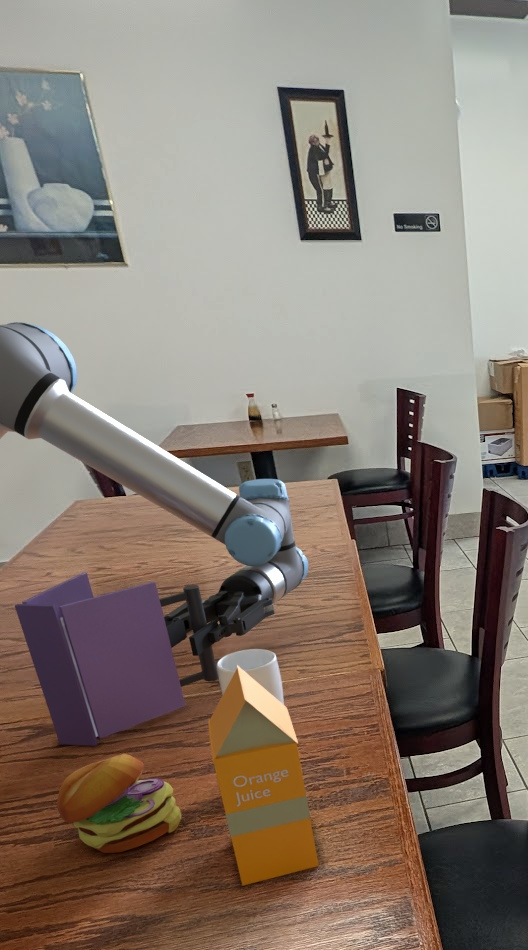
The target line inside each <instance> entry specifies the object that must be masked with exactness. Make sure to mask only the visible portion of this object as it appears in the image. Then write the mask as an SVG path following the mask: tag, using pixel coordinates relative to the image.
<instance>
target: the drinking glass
mask: <svg viewBox="0 0 528 950" xmlns="http://www.w3.org/2000/svg"><path fill="white" fill-rule="evenodd" d="M237 665H238V666H239V667H240V668H241V669H243V670H244V671H245V672H246V673H247V674H248V675H250V676H251V677H252V678H253V679H254V680H255V681H256V682H258V683H259V684H260V685H261V686H262V687H263V688H265V689H266V690H267V691H268V692H269V693H270V694H272V695H273V696H274V697H275V698H276V699H277V700H279V701H280V702H281V703H282V704H283V705H284V706H285V698H284V689H283V681H282V675H281V671H280V666H279V662H278V659H277V655H276V653H275V652H273V651H271V650H268V649H263V648H251V649H249V648H248V649H243V650H238V651H234V652H231V653H228V654H226V655H224V656H223V657H221V658H220V659H218V660H217V662H216V667H217V672H218V677H219V678H218V682H219V688H220V691H221V695H222V696H223V694H224V692H225V690H226V688H227V686H228V684H229V683H230V681H231V679H232V677H233V675H234V673H235V671H236V669H237ZM222 696H221V697H222Z"/></svg>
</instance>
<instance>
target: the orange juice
mask: <svg viewBox="0 0 528 950" xmlns="http://www.w3.org/2000/svg"><path fill="white" fill-rule="evenodd" d="M207 722H208V723H207V728H208V736H209V743H210V750H211V751H210V753H211V760H212V763H213V765H214V772H215V779H216V782H217V783H218V787H219V792H220V796H221V800H222V804H223V809H224V814H225V819H226V823H227V828H228V832H229V836H230V838H231V843H232V847H233V851H234V856H235V860H236V864H237V869H238V873H239V877H240V881H241V886H242V887H243V886H248V885H250V884H254V883H259V882H262V881H266V880H270V879H273V878H278V877H281V876H285V875H289V874H293V873H296V872H297V873H298V872H300V871H304V870H305V871H306V870H309V869H312V868H316V867H319V865H320V864H319V859H318V853H317V849H316V842H315V837H314V831H313V828H312V827H313V826H312V821H311V813H310V809H309V808H310V807H309V802H308V796H307V791H306V787H305V781H304V775H303V773H304V772H303V768H302V764H301V756H300V752H299V751H300V750H299V748H298V744H299V741H298V738H297V734H296V732H295V727H294V726H293V722H292V719H291V716H290V713H289V710H288V707H287V706H286V705H285V704H284V705H283V704H282V703H281V702H280V701H279V700H277V699H276V698H275V697H274V696H273V695H272V694H270V693H269V692H268V691H267V690H266V689H265V688H263V687H262V686H261V685H260V684H259V683H258V682H256V681H255V680H254V679H253V678H252V677H251V676H250V675H248V674H247V673H246V672H245V671H244V670H243V669H241V668H240V667H239V666H238V665H237V669H236V671H235V673H234V675H233V677H232V679H231V681H230V683H229V684H228V686H227V688H226V690H225V692H224V694H223V696H221V698H220V700H219V702H218V704H217V705H216V707H215V709H214V711H213V713H212V715H211V717H210V719H209V720H207Z"/></svg>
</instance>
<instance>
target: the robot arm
mask: <svg viewBox="0 0 528 950" xmlns="http://www.w3.org/2000/svg"><path fill="white" fill-rule="evenodd" d="M77 381H78V371H77V365H76V362H75V359H74V357H73V354H72V352H71V351H70V349H69V348H68V346H67V345H66V344H65V343H64V342H63V341H62V339H60V338H59V337H58V336H57V335H55V334H54V332H53V333H52V332H51V331H50V330H47V329H46V328H44V327H42V326H38V325H35V324H31V323H27V322H23V321H22V322H21V321H19V322H18V321H16V322H15V321H14V322H10V323H6V324H0V440H1V439H2V438H3V437H4V436H5V435H6V434H7V433H8V432H13V433H17V434H19V435H20V436H22V437H23V438H26V440H35V439H42V440H44V442H46V443H49V444H50V445H53V446H54V447H56V448H58V449H59V450H60V451H63V452H64V453H66V454H68V455H70V456H71V457H73V458H74V459H76V460H78V461H80V462H82V463H83V464H85V465H86V466H89V467H90V468H92V469H94V470H95V471H97V472H99V473H100V474H102V475H103V476H106V477H107V478H109V479H111V480H113V481H115V482H116V483H118V484H119V485H121V486H123V487H124V488H126V489H128V490H130V491H132V492H133V493H135V494H137V495H138V496H140V497H142V498H144V499H145V500H147V501H148V502H151V503H152V504H154V505H156V506H158V507H160V508H161V509H163V510H165V512H169V513H170V514H171V515H173V516H175V517H177V518H178V519H180V520H182V521H183V522H185V523H187V524H188V525H191V526H192V527H194V528H195V529H197V530H199V531H201V532H203V534H205V535H207V536H209V537H211V538H213V539H214V540H216V541H218V542H219V543H221V544H223V545H224V546H225V548H226V550H227V552H228V553H229V555H230V556H231V557H232V558H233V560H235V561H236V562H238V563H239V564H241V565H243V567H241V568H240V569H238V570H237V571H235V572H234V573H233V574H231V575H230V576H228V577H227V578H225V579H224V580H223V581H222V583H221V584H220V587H219V590H218V591H217V593H215V594H211V595H210V596H209V597H208V598H207V599H202V604H203V608H204V613H205V617H206V622H207V625H205V626H204V627H203V628H201V629H200V630H198V631H197V632H196V633H193V634H191V635H190V636H189V637H188V635H187V634H188V633H190V632H193V629H192V625H191V620H190V616H189V612H188V607H187V603H186V601H185V602H184V603H182V604H180V605H179V606H177V607H176V608H175V609H173V610H172V611H170V612H169V613H166V615H164V619H165V624H166V628H167V632H168V636H169V640H170V644H171V648H172V649H173V648H175V646H177V645H178V644H179V643H181V642H182V641H185V640H186V639H187V638H188V639H189V645H190V648H191V651H192V652H191V653H192V657H193V656H194V657H199V655H200V654H201V653H202V652H204V651H205V650H206V649H208V648H209V647H210V646H211V645H212V646H213V645H214V644H216V643H218V642H220V641H221V640H222V639H224V638H229V637H231V636H232V634H235V635H236V636H237V637H242V636H244V635H246V634H247V633H249V632H250V631H252V629H253V628H254V627H256V626H257V625H259V624H260V623H261V622H262V621H263V620H265V619H266V618H268V617H271V616H274V615H275V613H276V612H275V608H274V605H275V604H276V603H277V602H278V601H280V600H281V599H282V598H284V597H285V596H287V595H288V594H289V593H291V592H292V591H294V590H295V589H297V588H298V587H299V586H300V585H301V583H302V582H303V581H304V580H305V579H306V577H307V575H308V572H309V562H308V561H309V560H308V559H307V557H306V556H305V554H304V552H303V551H302V549H300V548H298V547H297V545H296V540H295V536H294V530H293V522H292V515H291V508H290V499H289V497H288V491H287V487H286V484H285V482H283V481H282V480H280V479H276V478H257V479H251V480H247V481H244V482H242V483H241V484H240V485H239V486H238V493H239V494H237V493H236V492H234V491H232V490H230V489H229V488H228V487H225V485H223V484H220V483H219V482H217V481H216V480H214V479H212V478H211V477H209V476H207V475H206V474H204V473H202V472H201V471H199V470H198V469H196V468H195V467H193V466H191V465H190V464H188V463H186V462H185V461H183V460H182V459H180V458H179V457H176V456H175V455H173V454H172V453H170V452H169V451H166V450H165V449H164V448H161V447H160V446H159V445H157V444H155V443H154V442H152V441H151V440H149V439H147V438H145V437H144V436H142V435H140V434H139V433H137V432H136V431H134V430H133V429H131V428H129V427H128V426H126V425H125V424H122V423H121V422H119V421H117V420H116V419H114V418H113V417H111V416H109V415H107V414H106V413H104V412H103V411H101V410H100V409H98V408H96V406H95V407H94V406H93V405H91V404H90V403H88V402H86V401H85V400H84V399H82V398H80V397H79V396H77V395H75V394H74V393H73V391H74V390H75V388H76V385H77ZM244 565H245V566H244Z"/></svg>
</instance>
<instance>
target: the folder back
mask: <svg viewBox="0 0 528 950" xmlns="http://www.w3.org/2000/svg"><path fill="white" fill-rule="evenodd" d="M93 597H94V593H93V589H92V586H91V582H90V579H89V576H88V573H87V572H84V571H83V572H81V573H79V574H76V575H75V576H73V577H70V578H69V579H66V580H64V581H62V582H60V583H58V584H56V585H54V586H52V587H50V588H48V589H46V590H43V591H41V592H40V593H37V594H35V595H33V596H31V597H29V598H27V599H25V600H22V603H17V604H15V605H14V608H15V611H16V615H17V618H18V621H19V624H20V626H21V631H22V633H23V636H24V640H25V642H26V646H27V648H28V651H29V654H30V657H31V660H32V664H33V666H34V670H35V672H36V676H37V679H38V683H39V685H40V687H41V691H42V694H43V697H44V700H45V703H46V706H47V708H48V712H49V715H50V718H51V722H52V725H53V728H54V731H55V734H56V737H57V740H58V742H59V745H68V746H89V747H90V746H92V747H96V746H98V744H99V741H98V738H97V737H98V734H97V730H96V727H95V724H94V720H93V717H92V714H91V710H90V707H89V704H88V701H87V697H86V694H85V691H84V687H83V684H82V681H81V677H80V674H79V671H78V667H77V664H76V661H75V658H74V654H73V651H72V648H71V644H70V641H69V638H68V634H67V631H66V628H65V624H64V621H63V618H62V615H61V611H60V608H59V606H62V605H66V604H70V603H73V602H77V601H81V600H85V599H89V598H93Z"/></svg>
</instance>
